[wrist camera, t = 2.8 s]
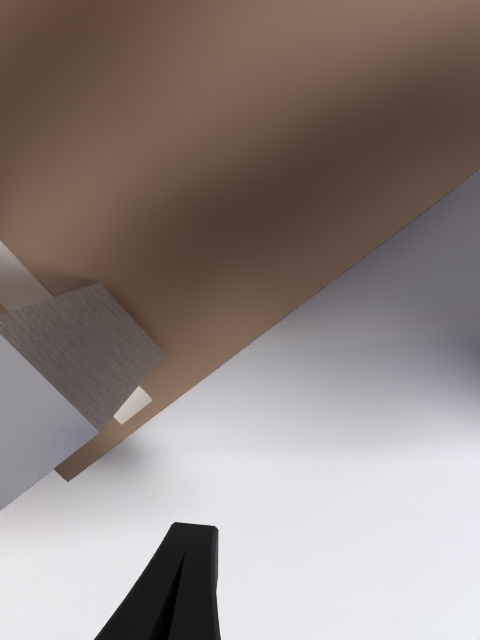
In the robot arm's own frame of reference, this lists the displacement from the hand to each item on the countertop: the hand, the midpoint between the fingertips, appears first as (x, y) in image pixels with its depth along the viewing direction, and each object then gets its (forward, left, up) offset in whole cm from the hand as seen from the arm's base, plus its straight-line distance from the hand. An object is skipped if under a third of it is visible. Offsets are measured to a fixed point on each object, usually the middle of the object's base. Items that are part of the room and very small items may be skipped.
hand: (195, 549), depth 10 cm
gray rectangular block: (+6, 0, -2) cm, 7 cm away
